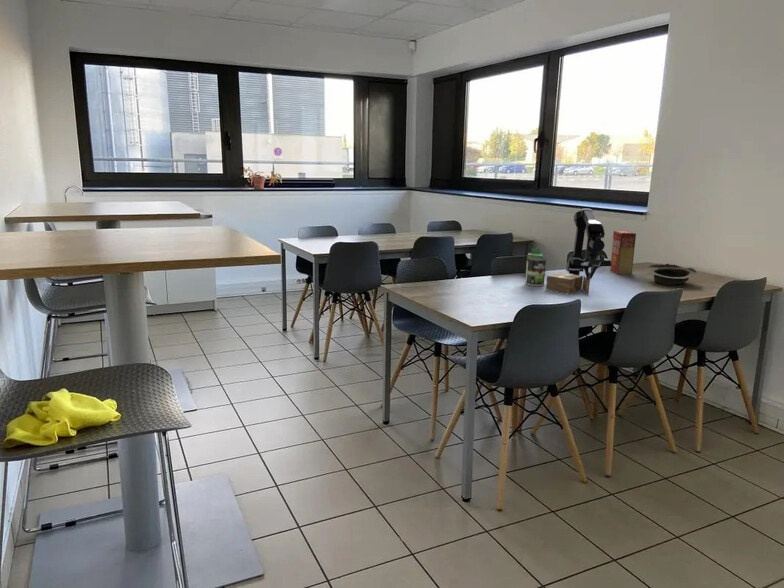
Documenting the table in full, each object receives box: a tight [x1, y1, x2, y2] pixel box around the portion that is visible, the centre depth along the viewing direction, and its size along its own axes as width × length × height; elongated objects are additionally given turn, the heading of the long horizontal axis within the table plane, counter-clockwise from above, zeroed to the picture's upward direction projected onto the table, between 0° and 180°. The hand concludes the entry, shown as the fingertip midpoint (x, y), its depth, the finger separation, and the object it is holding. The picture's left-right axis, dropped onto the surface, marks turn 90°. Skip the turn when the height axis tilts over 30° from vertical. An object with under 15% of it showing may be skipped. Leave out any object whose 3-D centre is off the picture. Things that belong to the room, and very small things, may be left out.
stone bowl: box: [647, 263, 697, 286], centre depth 321 cm, size 25×25×9 cm
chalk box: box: [525, 247, 544, 267], centre depth 343 cm, size 9×9×15 cm
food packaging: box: [609, 230, 637, 275], centre depth 347 cm, size 13×9×25 cm
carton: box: [545, 271, 584, 295], centre depth 302 cm, size 14×13×8 cm
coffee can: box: [524, 257, 547, 287], centre depth 314 cm, size 10×10×14 cm
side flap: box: [581, 271, 591, 296], centre depth 295 cm, size 14×1×12 cm, turn 173°
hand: (589, 278), depth 290 cm, fingers closed
